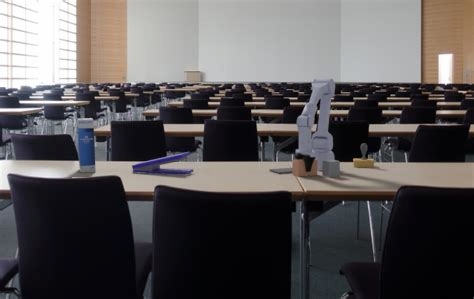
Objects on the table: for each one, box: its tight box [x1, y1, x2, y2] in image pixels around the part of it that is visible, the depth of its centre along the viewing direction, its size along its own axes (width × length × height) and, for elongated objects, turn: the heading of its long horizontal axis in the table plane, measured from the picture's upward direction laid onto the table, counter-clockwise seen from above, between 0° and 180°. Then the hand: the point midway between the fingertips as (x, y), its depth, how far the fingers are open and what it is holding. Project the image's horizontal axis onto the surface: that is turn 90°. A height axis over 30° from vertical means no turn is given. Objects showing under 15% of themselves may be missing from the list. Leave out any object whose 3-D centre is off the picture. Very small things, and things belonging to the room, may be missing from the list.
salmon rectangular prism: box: [291, 158, 318, 177], centre depth 245 cm, size 10×6×7 cm, turn 112°
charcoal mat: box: [269, 167, 292, 175], centre depth 255 cm, size 12×10×1 cm
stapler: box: [131, 151, 194, 175], centre depth 258 cm, size 12×28×10 cm, turn 76°
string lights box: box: [76, 117, 97, 174], centre depth 262 cm, size 13×8×26 cm, turn 18°
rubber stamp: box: [352, 143, 375, 168], centre depth 268 cm, size 10×6×12 cm, turn 79°
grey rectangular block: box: [321, 159, 341, 178], centre depth 241 cm, size 6×6×7 cm
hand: (304, 170), depth 245 cm, fingers closed on salmon rectangular prism, 6 cm apart
